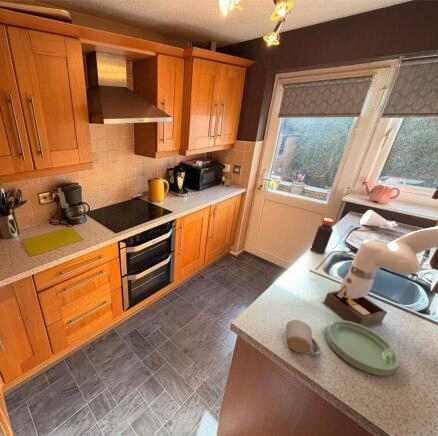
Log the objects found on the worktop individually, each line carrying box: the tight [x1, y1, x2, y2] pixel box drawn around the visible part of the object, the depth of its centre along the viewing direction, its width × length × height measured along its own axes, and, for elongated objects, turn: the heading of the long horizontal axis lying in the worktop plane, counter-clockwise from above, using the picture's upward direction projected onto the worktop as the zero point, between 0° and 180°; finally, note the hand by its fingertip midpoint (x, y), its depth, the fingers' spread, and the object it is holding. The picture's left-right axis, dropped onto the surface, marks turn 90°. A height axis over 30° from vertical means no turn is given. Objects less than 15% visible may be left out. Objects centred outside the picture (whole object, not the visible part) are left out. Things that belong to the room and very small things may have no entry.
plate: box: [325, 319, 400, 376], centre depth 79 cm, size 18×18×4 cm
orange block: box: [338, 296, 357, 308], centre depth 95 cm, size 4×5×4 cm
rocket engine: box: [359, 209, 399, 232], centre depth 163 cm, size 12×12×18 cm
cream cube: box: [351, 305, 370, 317], centre depth 91 cm, size 4×5×4 cm
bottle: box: [310, 218, 335, 255], centre depth 132 cm, size 7×7×20 cm
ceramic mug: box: [285, 319, 321, 356], centre depth 79 cm, size 11×8×8 cm
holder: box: [323, 290, 388, 328], centre depth 93 cm, size 13×14×6 cm
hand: (345, 306), depth 96 cm, fingers closed on orange block, 3 cm apart
